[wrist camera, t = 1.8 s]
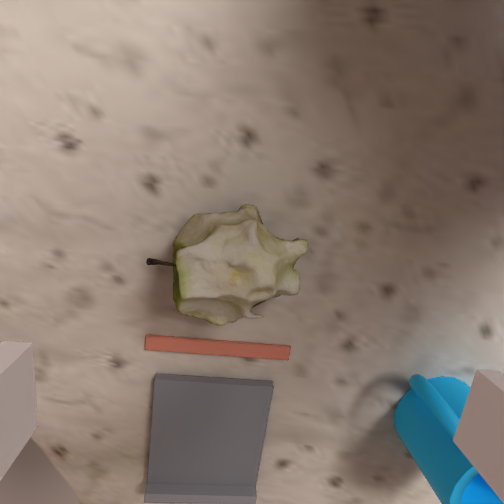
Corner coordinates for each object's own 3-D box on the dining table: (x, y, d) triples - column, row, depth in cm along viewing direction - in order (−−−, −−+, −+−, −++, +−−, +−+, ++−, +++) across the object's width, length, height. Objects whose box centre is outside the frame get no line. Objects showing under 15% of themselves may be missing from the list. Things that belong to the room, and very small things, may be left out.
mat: (156, 373, 28) (152, 387, 27) (272, 381, 30) (275, 395, 28) (148, 483, 32) (144, 502, 30) (253, 486, 33) (255, 504, 31)
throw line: (146, 334, 27) (145, 336, 27) (290, 346, 29) (290, 347, 29) (146, 347, 28) (145, 349, 27) (287, 358, 29) (288, 360, 29)
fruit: (157, 267, 27) (117, 285, 19) (231, 179, 27) (223, 160, 19) (242, 340, 28) (238, 386, 20) (317, 255, 27) (344, 268, 19)
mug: (488, 417, 33) (571, 498, 25) (417, 460, 34) (476, 552, 26) (436, 330, 30) (512, 392, 22) (358, 380, 31) (405, 457, 23)
